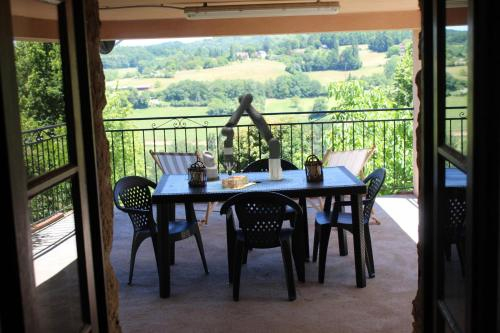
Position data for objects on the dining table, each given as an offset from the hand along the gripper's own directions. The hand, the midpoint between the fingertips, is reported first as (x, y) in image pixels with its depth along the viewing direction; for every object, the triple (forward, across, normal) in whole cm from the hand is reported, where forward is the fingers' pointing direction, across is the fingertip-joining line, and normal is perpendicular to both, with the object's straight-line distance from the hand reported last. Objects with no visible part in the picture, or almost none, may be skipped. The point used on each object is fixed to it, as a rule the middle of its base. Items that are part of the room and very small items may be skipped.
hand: (230, 175), depth 533 cm
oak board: (+8, -9, 0) cm, 12 cm away
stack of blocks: (+4, +1, -1) cm, 5 cm away
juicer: (+8, +36, -20) cm, 42 cm away
